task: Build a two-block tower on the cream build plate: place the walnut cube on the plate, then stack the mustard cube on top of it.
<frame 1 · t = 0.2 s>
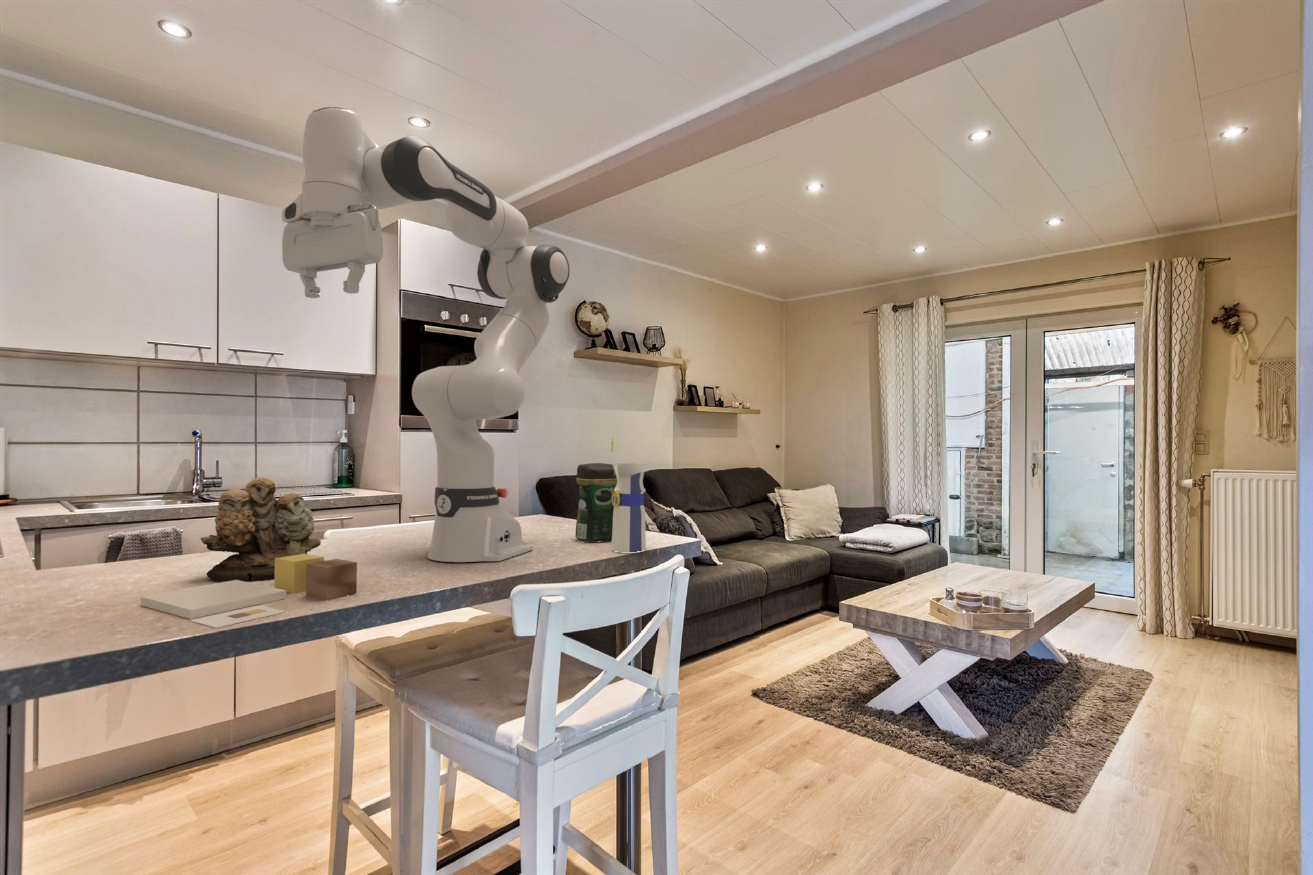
hand: (331, 295, 107), 47 cm above the kitchen counter, tool pointing down, fingers open, 8 cm apart
coffee jar: (595, 540, 158), on the kitchen counter
instruction sheet: (239, 616, 88), on the kitchen counter
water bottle: (628, 551, 144), on the kitchen counter
mustard block: (299, 588, 105), on the kitchen counter
build plate: (215, 601, 96), on the kitchen counter
three owls sculpture: (262, 575, 115), on the kitchen counter
walnut block: (331, 595, 101), on the kitchen counter
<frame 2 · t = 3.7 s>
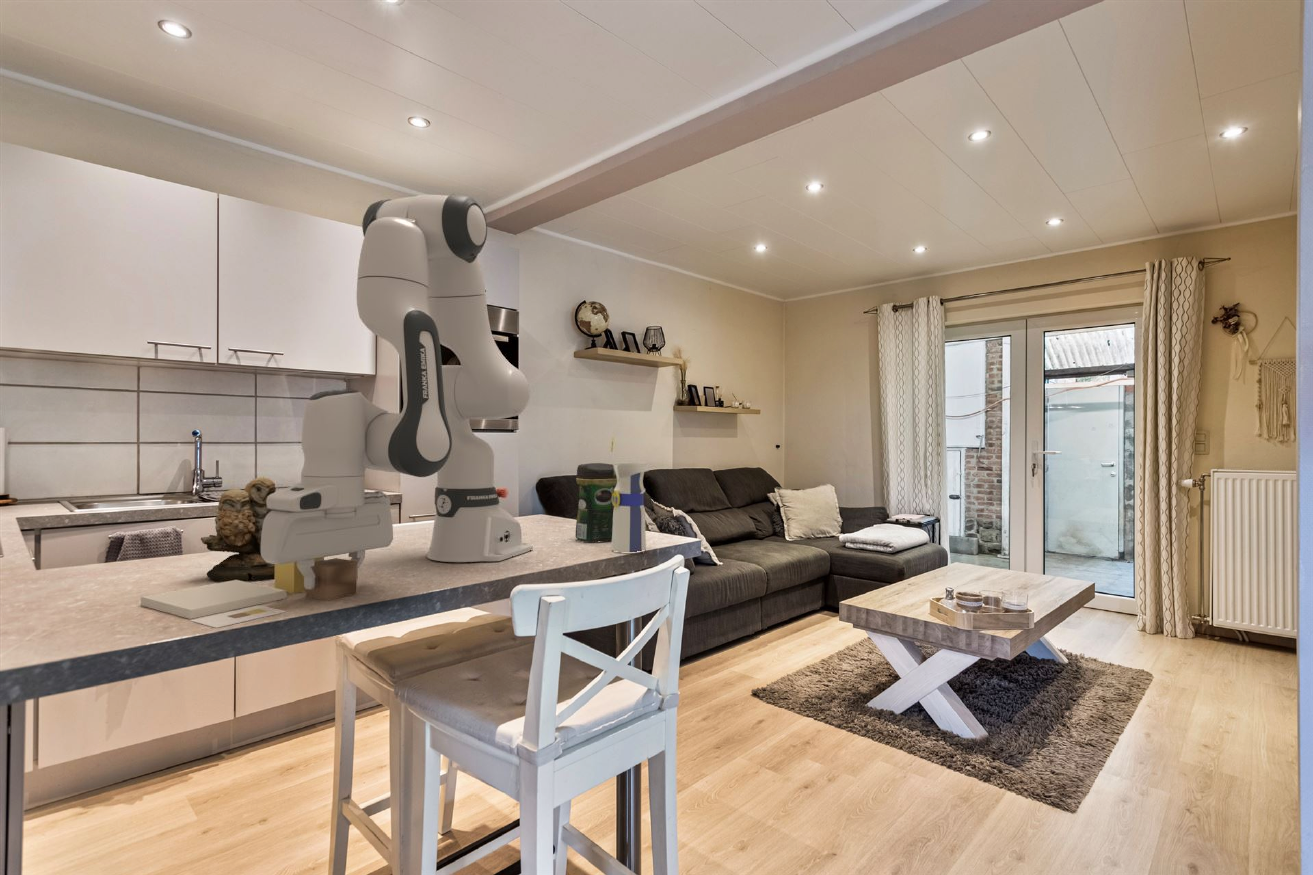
hand: (331, 584, 101), 2 cm above the kitchen counter, tool pointing down, fingers closed on walnut block, 5 cm apart
walnut block: (331, 594, 101), on the kitchen counter, touching gripper
everything else where it was.
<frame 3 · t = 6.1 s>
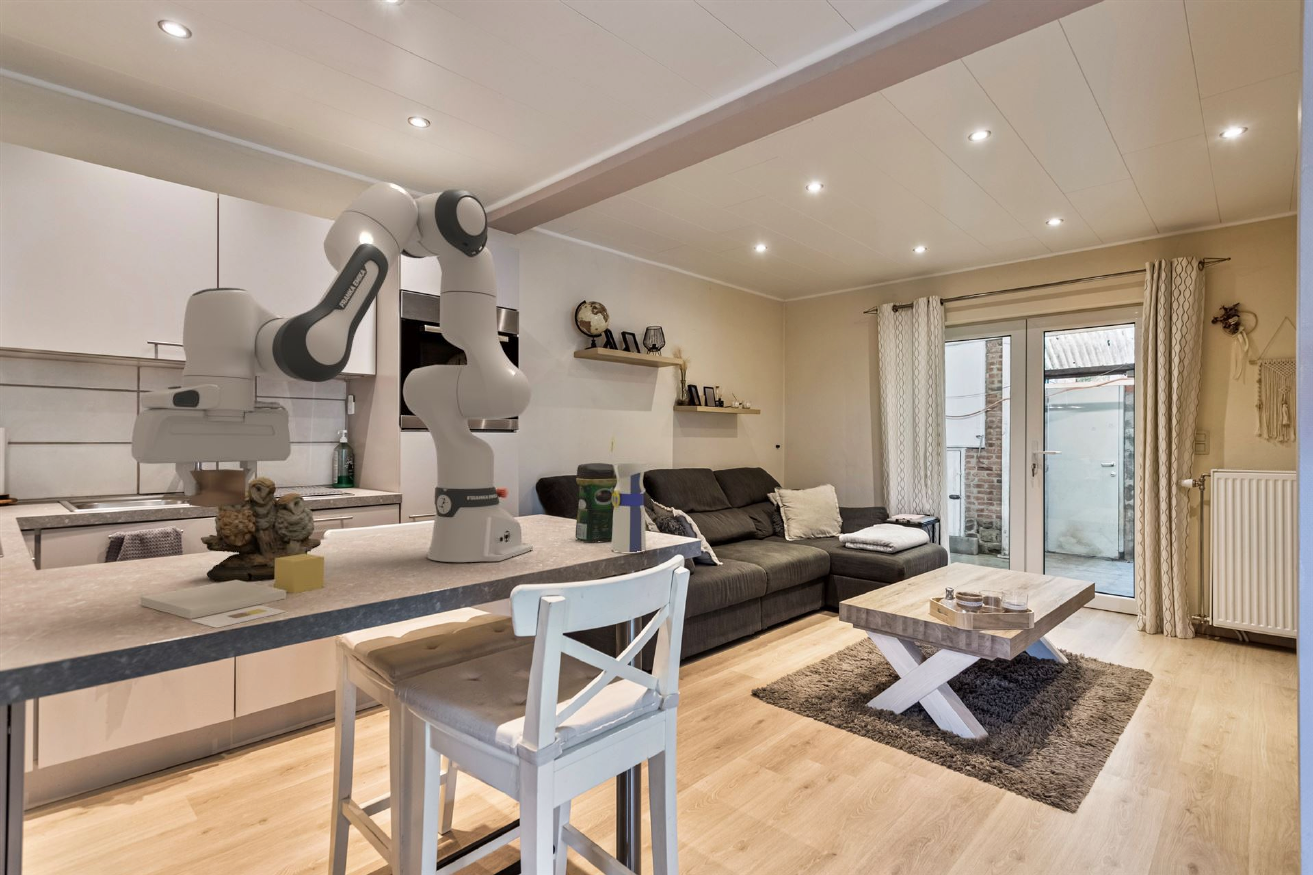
hand: (217, 493, 96), 16 cm above the kitchen counter, tool pointing down, fingers closed on walnut block, 5 cm apart
walnut block: (217, 504, 96), point 14 cm above the kitchen counter, touching gripper
everything else where it was.
when the fingers open (4 cm above the kitchen counter, at t = 8.6 s): walnut block stays where it is, resting on build plate.
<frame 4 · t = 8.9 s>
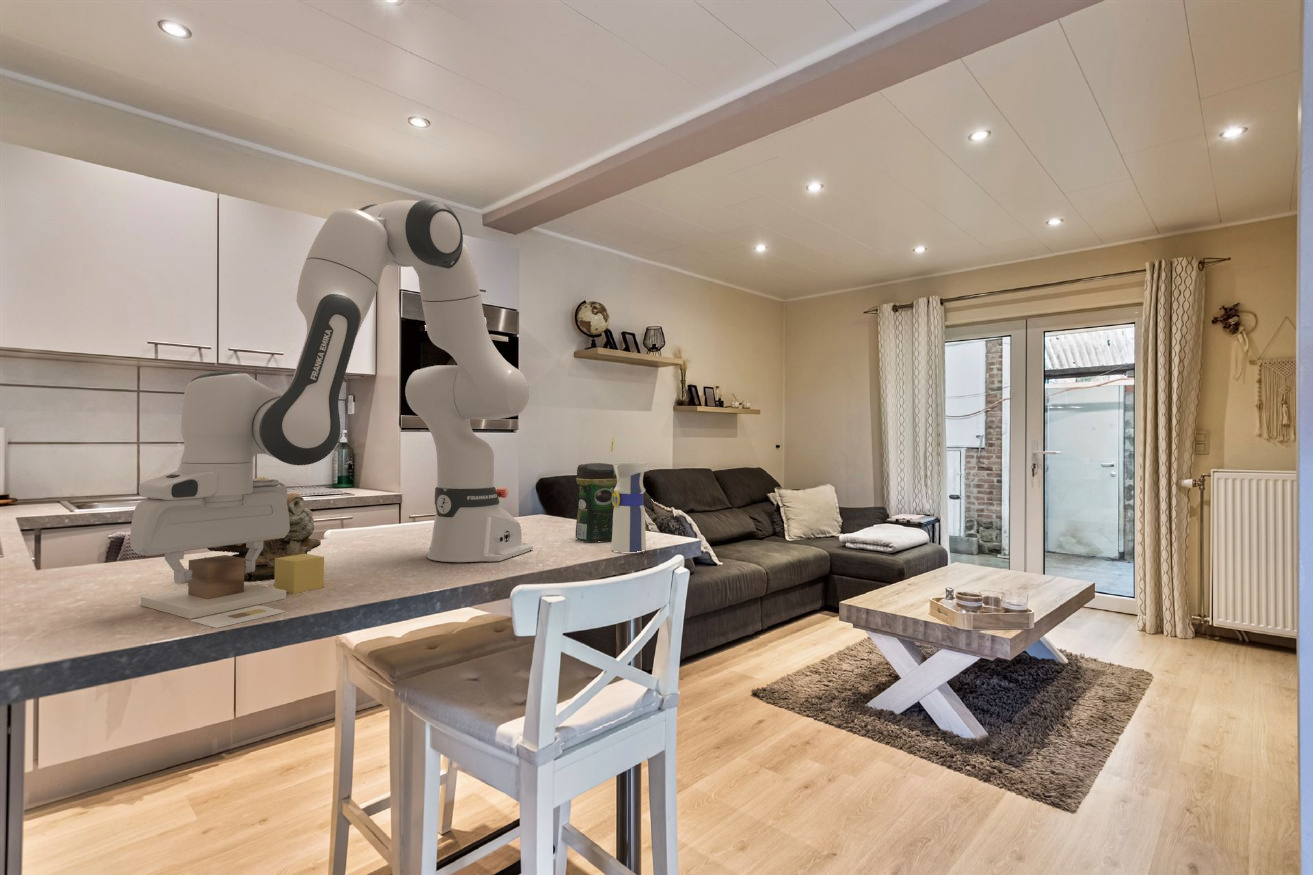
hand: (216, 577, 96), 4 cm above the kitchen counter, tool pointing down, fingers open, 7 cm apart
walnut block: (216, 593, 96), point 1 cm above the kitchen counter, touching build plate
everything else where it was.
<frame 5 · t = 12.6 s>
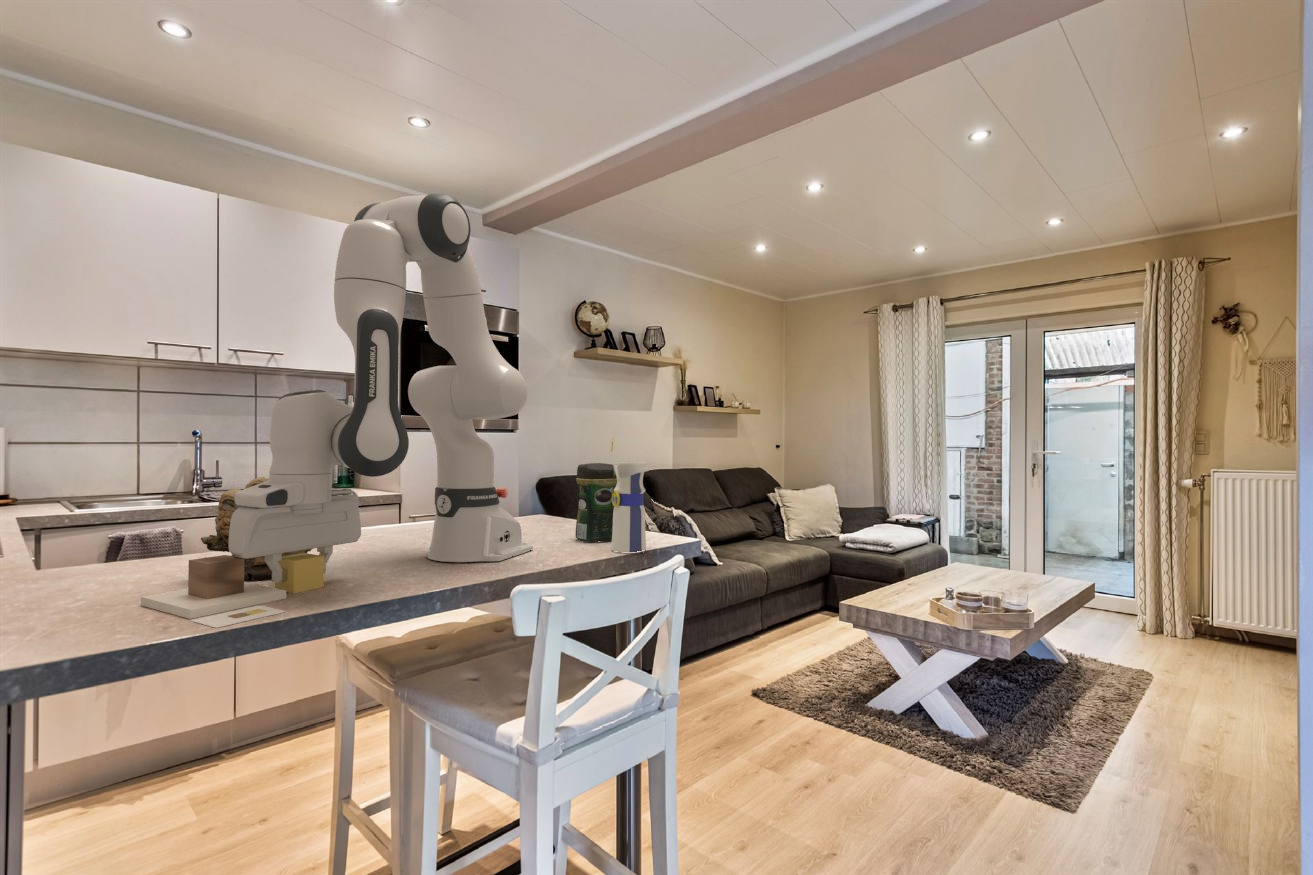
hand: (299, 577, 105), 2 cm above the kitchen counter, tool pointing down, fingers closed on mustard block, 5 cm apart
mustard block: (299, 588, 105), on the kitchen counter, touching gripper
everything else where it was.
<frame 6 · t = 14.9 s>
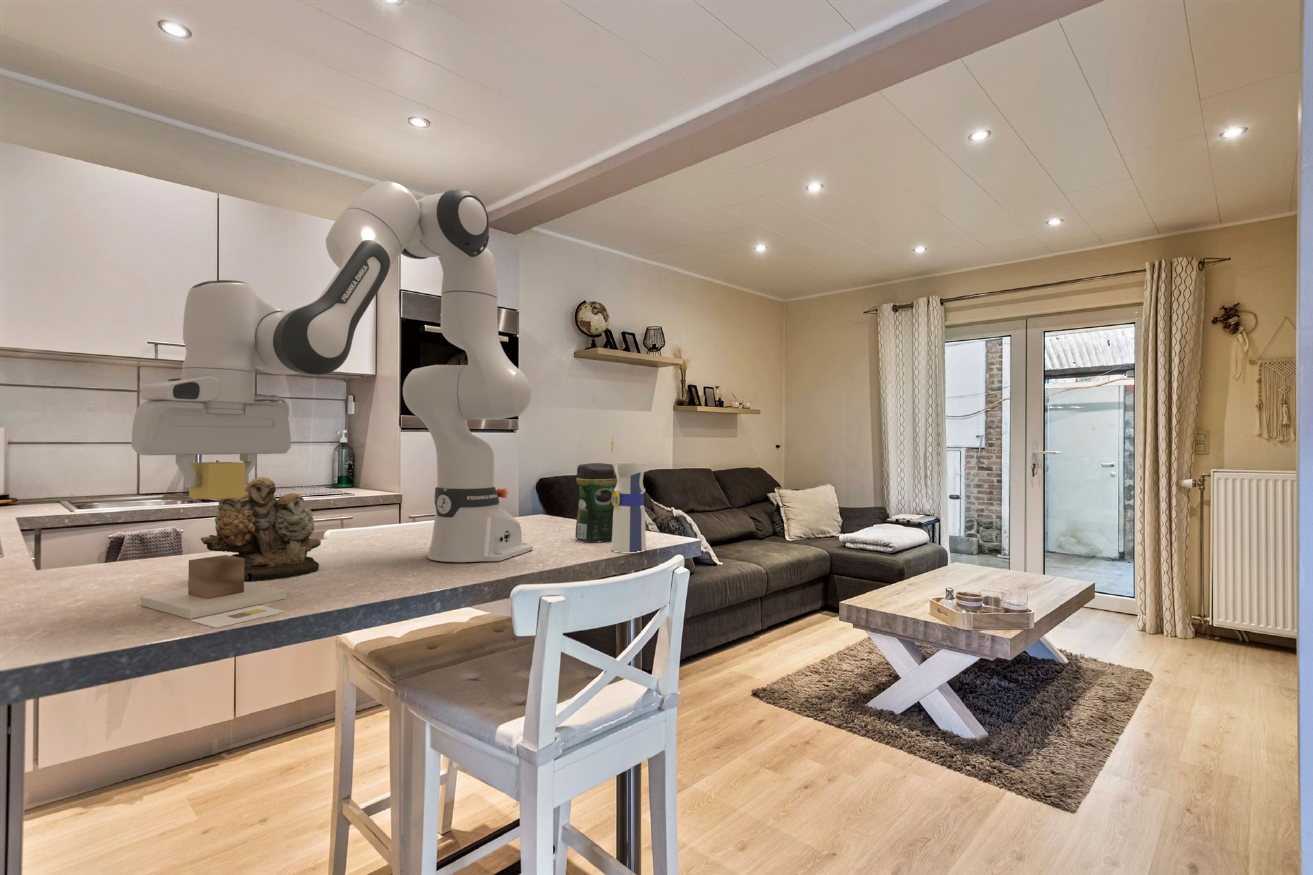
hand: (217, 486, 96), 17 cm above the kitchen counter, tool pointing down, fingers closed on mustard block, 5 cm apart
mustard block: (217, 497, 96), point 15 cm above the kitchen counter, touching gripper
everything else where it was.
when the fingers open (9 cm above the kitchen counter, at t = 17.1 s): mustard block stays where it is, resting on walnut block.
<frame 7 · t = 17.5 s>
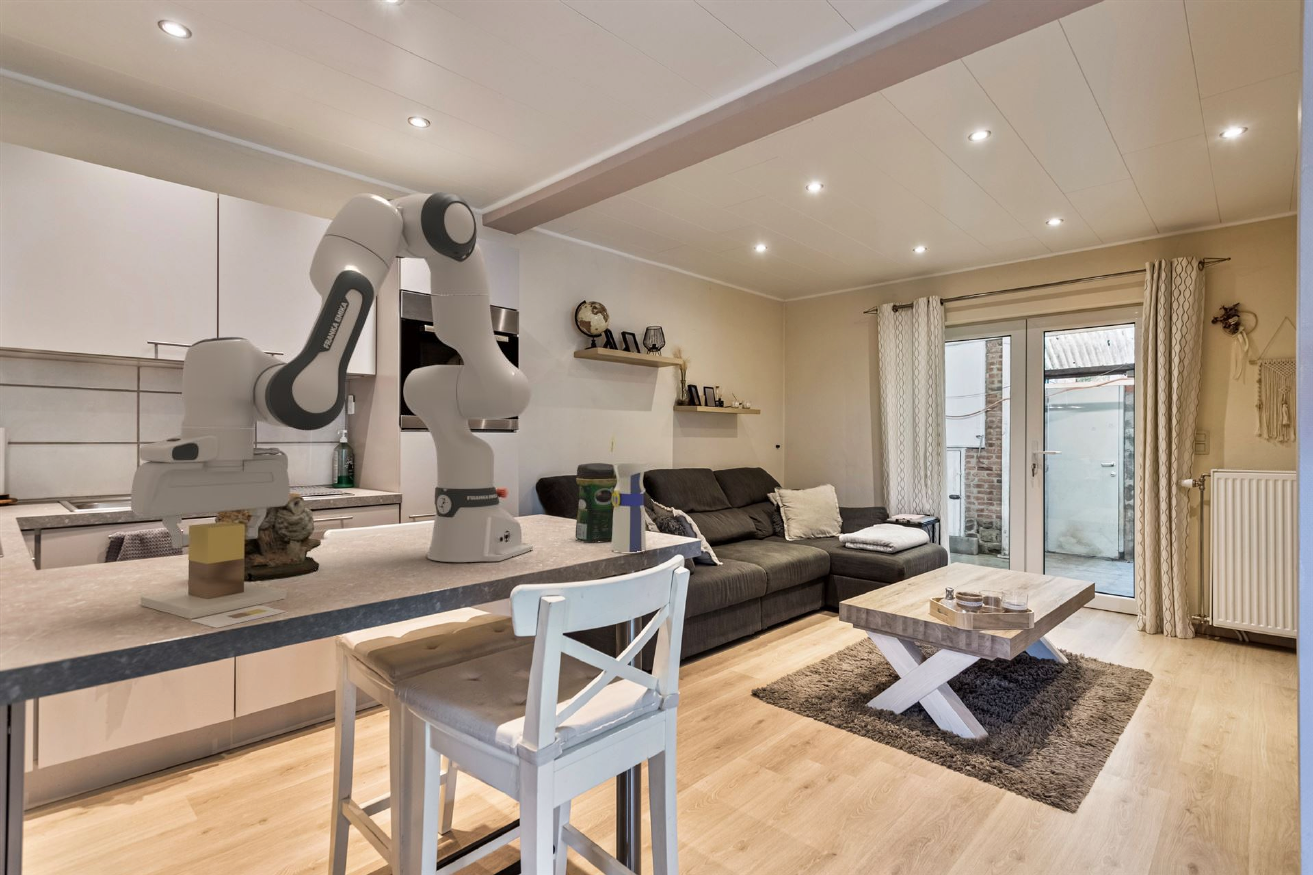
hand: (216, 542, 96), 9 cm above the kitchen counter, tool pointing down, fingers open, 8 cm apart
mustard block: (216, 559, 96), point 6 cm above the kitchen counter, touching walnut block
walnut block: (216, 593, 96), point 1 cm above the kitchen counter, touching build plate, mustard block
everything else where it was.
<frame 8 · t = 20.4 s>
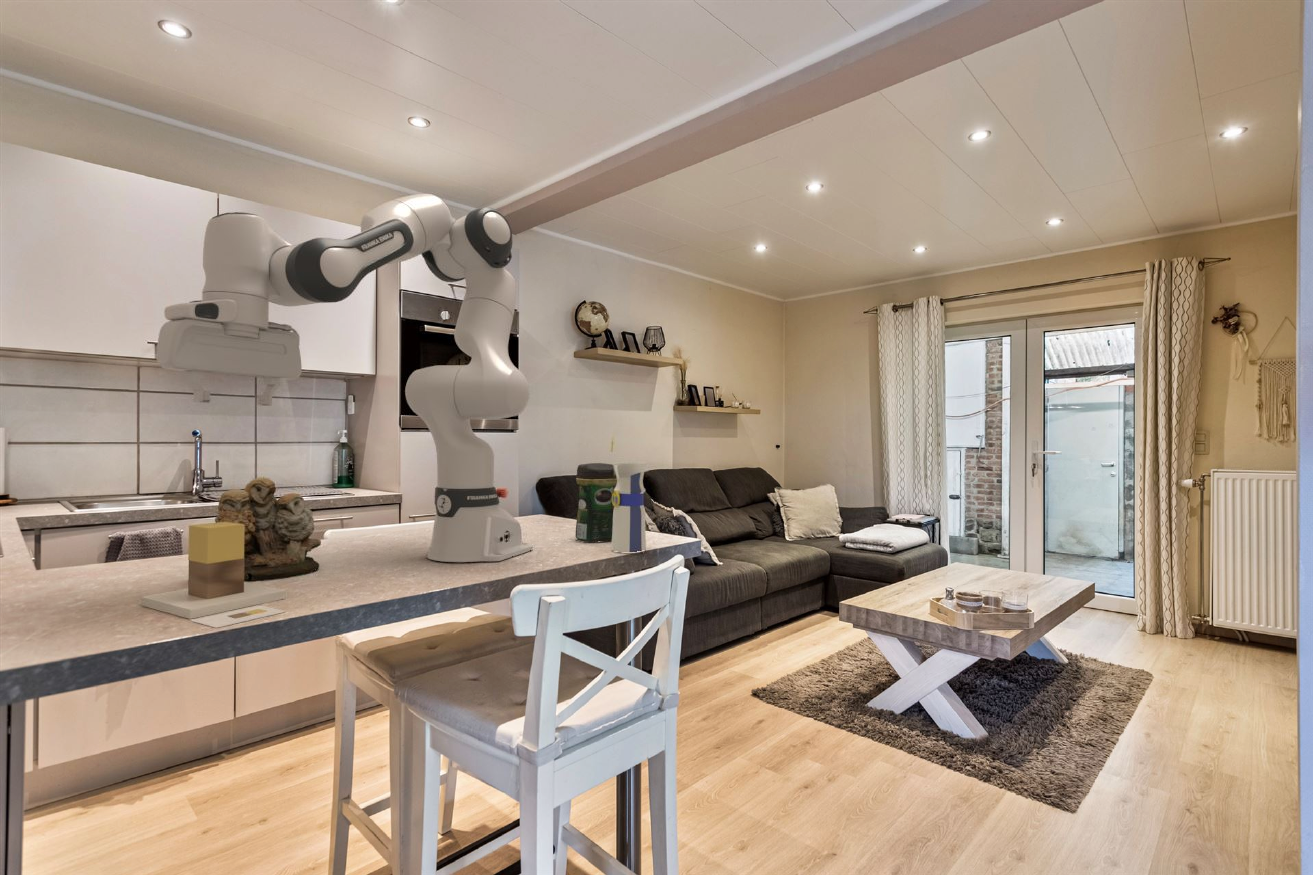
hand: (234, 404, 103), 29 cm above the kitchen counter, tool pointing down, fingers open, 8 cm apart
nothing on the kitchen counter moved.
at the end: walnut block inside the target area on the build plate (0.1 cm from its centre), point 1.2 cm above the build plate's base; mustard block 0.1 cm off-centre on the walnut block, point 5.0 cm above the walnut block's base; mustard block tilted 0° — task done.
